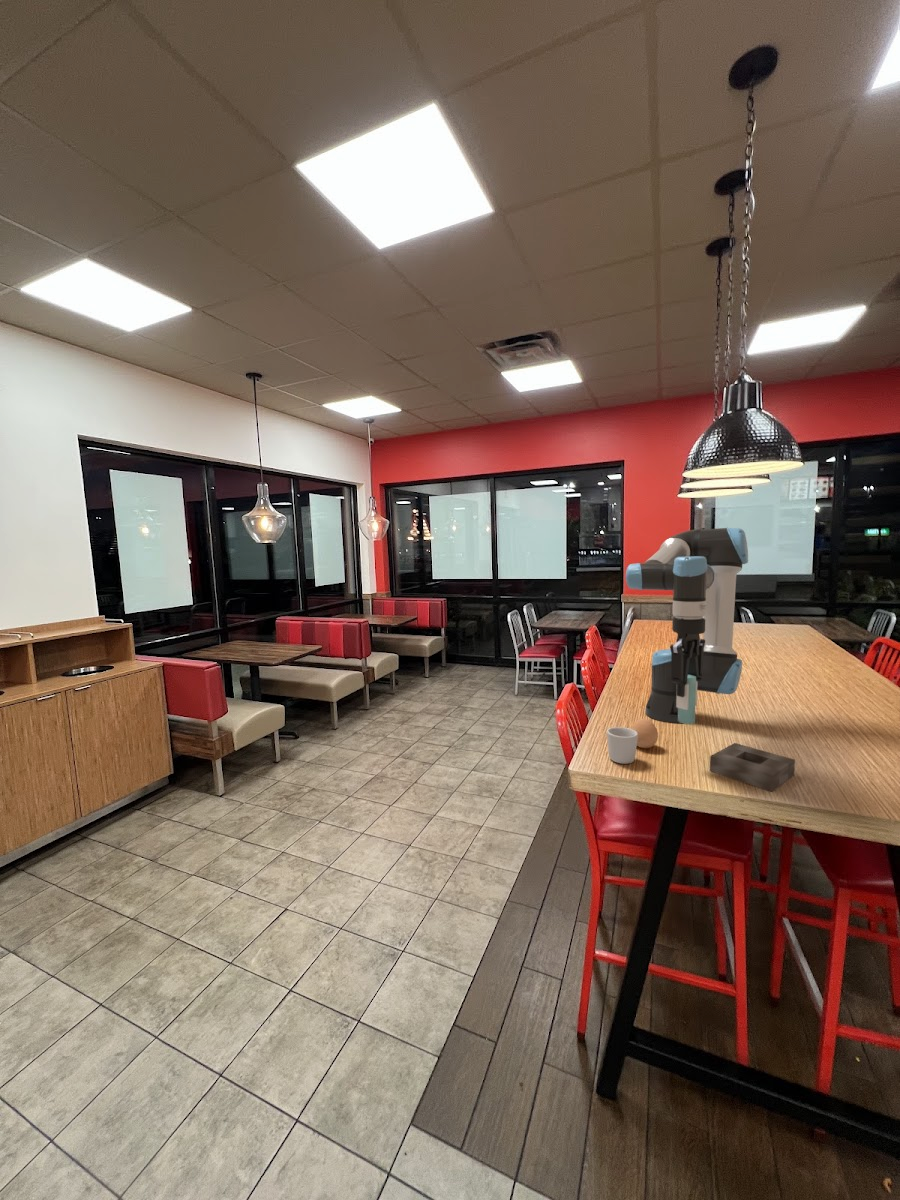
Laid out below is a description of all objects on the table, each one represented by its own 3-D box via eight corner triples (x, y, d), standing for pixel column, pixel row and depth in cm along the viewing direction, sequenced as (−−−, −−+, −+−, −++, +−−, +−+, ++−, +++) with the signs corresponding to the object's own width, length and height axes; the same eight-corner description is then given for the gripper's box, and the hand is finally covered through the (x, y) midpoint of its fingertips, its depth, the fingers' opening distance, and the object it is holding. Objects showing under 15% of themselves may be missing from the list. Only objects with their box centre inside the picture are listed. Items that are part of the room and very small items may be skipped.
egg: (624, 745, 140) (625, 716, 139) (643, 741, 143) (644, 713, 142) (644, 754, 133) (644, 724, 132) (663, 749, 136) (664, 720, 135)
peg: (674, 721, 124) (675, 676, 123) (682, 717, 126) (683, 673, 125) (690, 725, 121) (691, 679, 119) (697, 721, 123) (699, 676, 122)
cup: (597, 751, 136) (598, 723, 135) (624, 749, 136) (625, 722, 136) (613, 767, 125) (614, 737, 124) (642, 765, 126) (643, 736, 125)
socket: (709, 770, 122) (710, 755, 122) (734, 756, 130) (734, 742, 130) (771, 791, 111) (772, 775, 110) (794, 774, 119) (794, 759, 119)
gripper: (686, 622, 113) (684, 717, 115) (719, 615, 123) (717, 703, 125) (656, 619, 119) (655, 709, 121) (690, 612, 129) (688, 696, 131)
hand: (686, 706), depth 123 cm, fingers closed on peg, 4 cm apart
